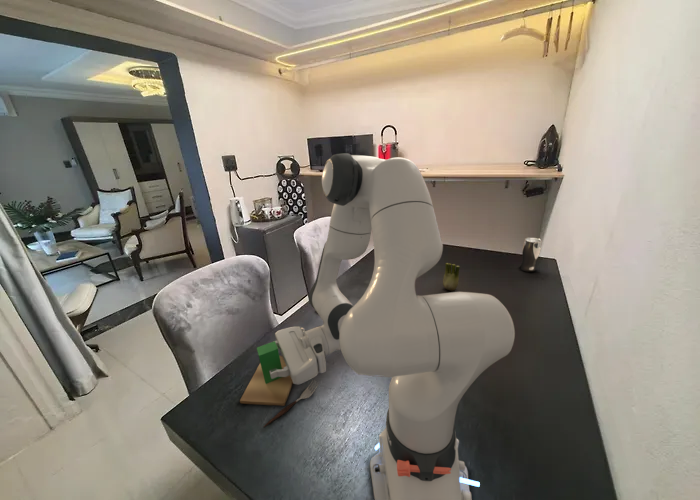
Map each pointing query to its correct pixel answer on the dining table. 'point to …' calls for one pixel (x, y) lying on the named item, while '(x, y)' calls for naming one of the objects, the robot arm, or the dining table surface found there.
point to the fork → (305, 394)
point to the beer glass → (530, 253)
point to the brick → (269, 360)
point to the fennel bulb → (451, 277)
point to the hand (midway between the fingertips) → (266, 363)
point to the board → (267, 389)
